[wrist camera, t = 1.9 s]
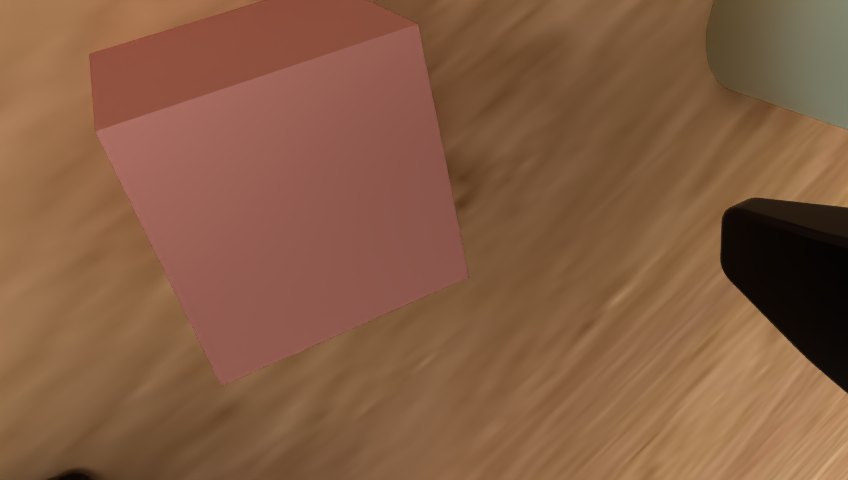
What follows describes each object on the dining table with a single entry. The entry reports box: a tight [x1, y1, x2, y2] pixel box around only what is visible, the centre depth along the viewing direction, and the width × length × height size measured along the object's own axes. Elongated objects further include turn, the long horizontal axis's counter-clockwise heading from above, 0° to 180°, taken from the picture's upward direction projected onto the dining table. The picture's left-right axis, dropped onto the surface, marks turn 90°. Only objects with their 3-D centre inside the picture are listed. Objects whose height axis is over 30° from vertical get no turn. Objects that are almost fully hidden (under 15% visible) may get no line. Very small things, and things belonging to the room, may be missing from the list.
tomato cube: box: [89, 0, 469, 386], centre depth 14 cm, size 5×5×5 cm
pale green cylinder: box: [706, 0, 848, 130], centre depth 18 cm, size 4×4×5 cm
